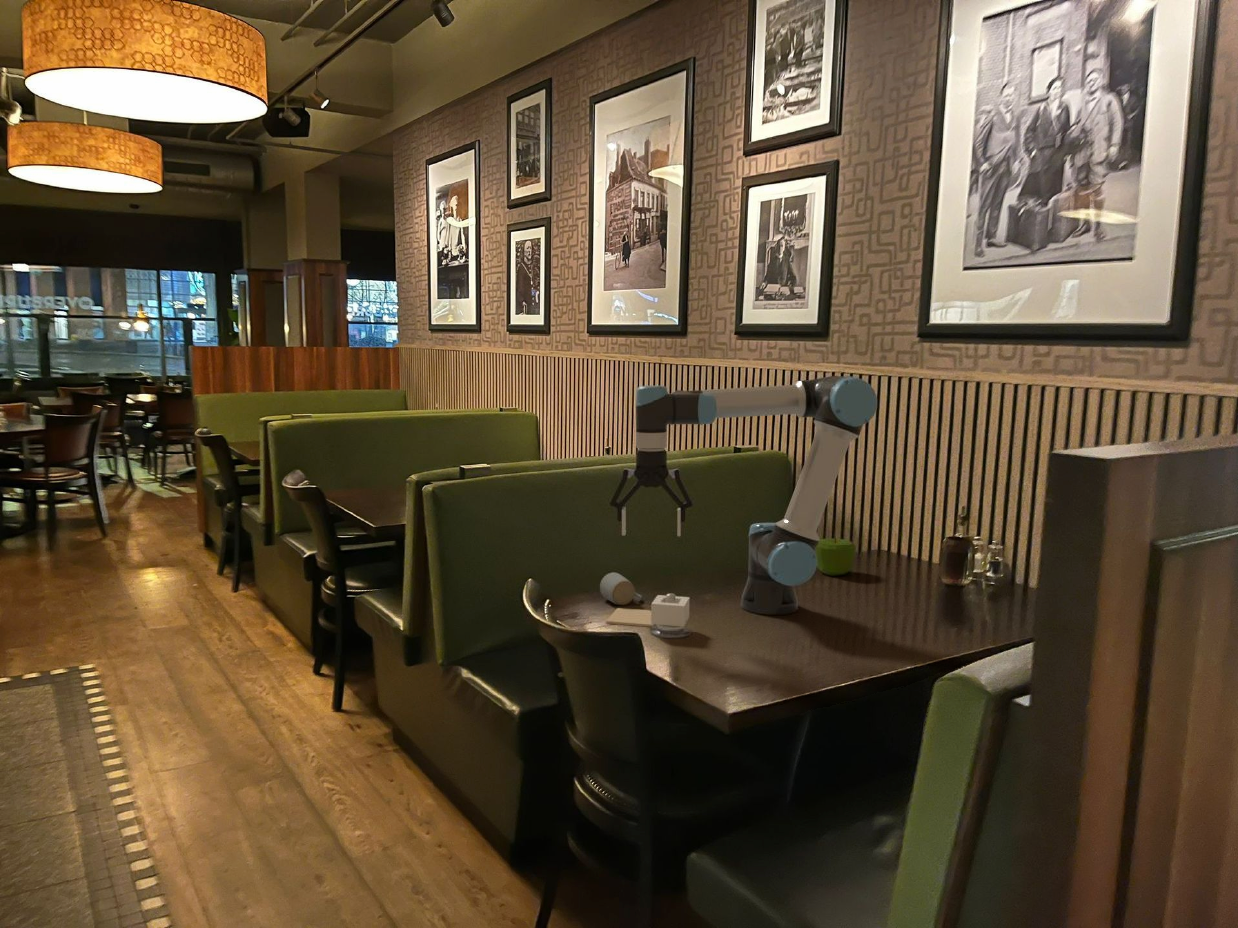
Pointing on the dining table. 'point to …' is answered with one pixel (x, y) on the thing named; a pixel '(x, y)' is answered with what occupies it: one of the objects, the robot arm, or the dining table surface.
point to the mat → (631, 617)
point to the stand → (669, 630)
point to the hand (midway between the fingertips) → (651, 534)
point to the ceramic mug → (618, 589)
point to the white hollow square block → (670, 611)
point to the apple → (835, 556)
